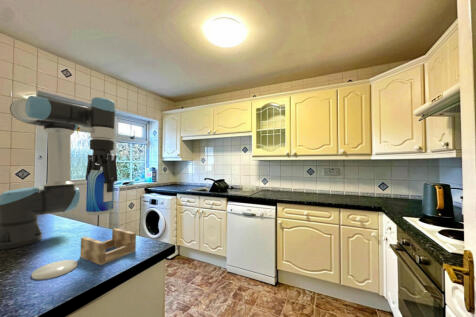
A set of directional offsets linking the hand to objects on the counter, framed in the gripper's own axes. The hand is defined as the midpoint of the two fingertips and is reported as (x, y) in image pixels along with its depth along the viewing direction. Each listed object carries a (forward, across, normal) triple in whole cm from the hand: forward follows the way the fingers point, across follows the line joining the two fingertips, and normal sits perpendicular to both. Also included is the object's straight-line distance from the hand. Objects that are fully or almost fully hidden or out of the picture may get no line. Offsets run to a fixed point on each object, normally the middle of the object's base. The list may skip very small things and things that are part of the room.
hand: (100, 199), depth 75 cm
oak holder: (+21, +1, +3) cm, 21 cm away
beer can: (+5, 0, 0) cm, 5 cm away
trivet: (+21, -2, -12) cm, 24 cm away
